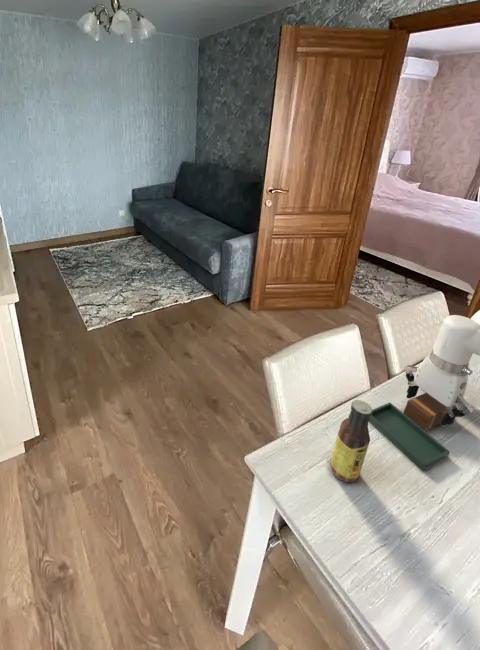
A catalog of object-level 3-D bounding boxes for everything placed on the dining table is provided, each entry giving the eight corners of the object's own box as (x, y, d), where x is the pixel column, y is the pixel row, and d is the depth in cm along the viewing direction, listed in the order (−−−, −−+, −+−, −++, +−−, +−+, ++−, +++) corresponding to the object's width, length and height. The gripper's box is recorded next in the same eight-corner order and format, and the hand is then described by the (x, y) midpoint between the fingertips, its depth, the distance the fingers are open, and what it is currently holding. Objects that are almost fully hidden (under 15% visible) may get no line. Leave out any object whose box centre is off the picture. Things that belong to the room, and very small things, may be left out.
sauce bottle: (353, 490, 77) (373, 426, 70) (325, 471, 81) (341, 409, 74) (362, 469, 82) (382, 407, 74) (335, 452, 86) (351, 391, 78)
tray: (447, 457, 85) (450, 451, 84) (422, 470, 82) (425, 465, 81) (388, 407, 99) (390, 402, 98) (364, 417, 95) (366, 412, 95)
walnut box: (428, 402, 101) (434, 388, 99) (450, 418, 95) (456, 404, 94) (402, 413, 97) (407, 399, 95) (424, 431, 92) (430, 417, 90)
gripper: (495, 380, 83) (470, 431, 89) (424, 337, 98) (407, 383, 104) (476, 389, 80) (451, 440, 87) (406, 343, 95) (389, 390, 101)
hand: (427, 409), depth 95 cm, fingers open, 9 cm apart
